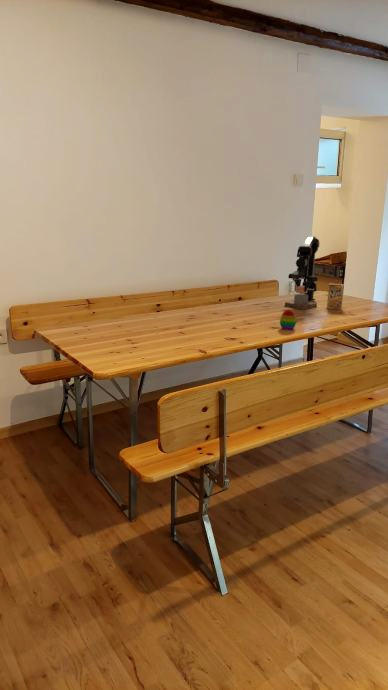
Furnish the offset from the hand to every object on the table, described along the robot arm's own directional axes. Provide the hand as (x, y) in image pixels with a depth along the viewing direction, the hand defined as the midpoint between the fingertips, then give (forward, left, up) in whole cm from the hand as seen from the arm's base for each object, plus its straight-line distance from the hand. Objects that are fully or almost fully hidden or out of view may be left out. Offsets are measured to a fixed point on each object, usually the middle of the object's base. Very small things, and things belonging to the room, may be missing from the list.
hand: (301, 291), depth 318 cm
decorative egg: (+51, +33, -10) cm, 62 cm away
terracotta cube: (0, 0, -1) cm, 1 cm away
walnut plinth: (0, 0, -10) cm, 10 cm away
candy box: (-13, +16, -10) cm, 23 cm away
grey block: (0, 0, -7) cm, 7 cm away
